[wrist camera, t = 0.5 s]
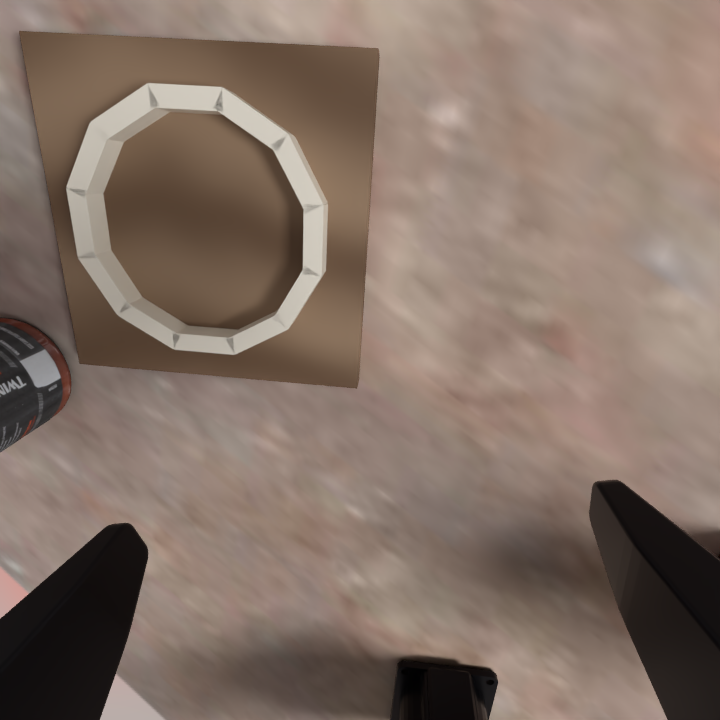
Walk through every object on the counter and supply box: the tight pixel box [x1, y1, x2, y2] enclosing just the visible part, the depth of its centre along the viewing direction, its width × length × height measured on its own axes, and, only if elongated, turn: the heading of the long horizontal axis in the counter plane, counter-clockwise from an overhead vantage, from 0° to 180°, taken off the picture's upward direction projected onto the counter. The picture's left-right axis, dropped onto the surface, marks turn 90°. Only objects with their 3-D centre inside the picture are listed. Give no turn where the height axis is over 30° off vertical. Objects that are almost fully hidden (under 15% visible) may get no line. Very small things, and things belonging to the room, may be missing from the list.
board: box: [19, 31, 379, 388], centre depth 21 cm, size 14×14×1 cm
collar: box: [66, 83, 328, 355], centre depth 20 cm, size 11×11×1 cm
